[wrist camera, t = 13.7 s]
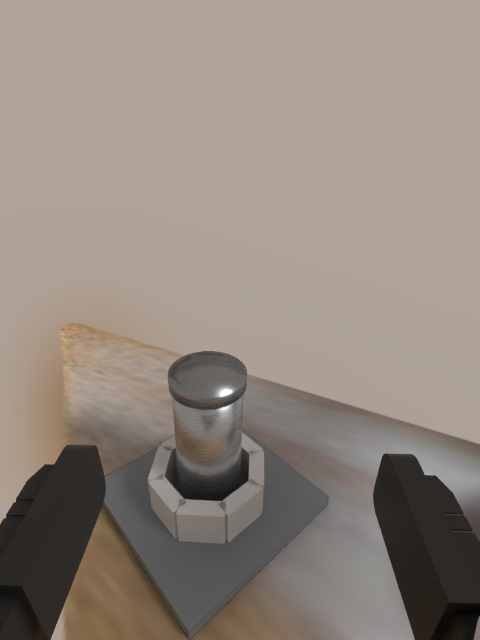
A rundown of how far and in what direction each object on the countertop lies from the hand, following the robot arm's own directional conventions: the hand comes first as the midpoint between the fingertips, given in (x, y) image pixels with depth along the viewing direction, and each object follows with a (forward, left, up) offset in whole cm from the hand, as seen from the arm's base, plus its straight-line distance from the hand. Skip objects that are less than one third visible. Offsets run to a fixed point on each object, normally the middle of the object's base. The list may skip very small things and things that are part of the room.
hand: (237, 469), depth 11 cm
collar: (-8, -12, -19) cm, 24 cm away
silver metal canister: (-8, -12, -18) cm, 23 cm away
